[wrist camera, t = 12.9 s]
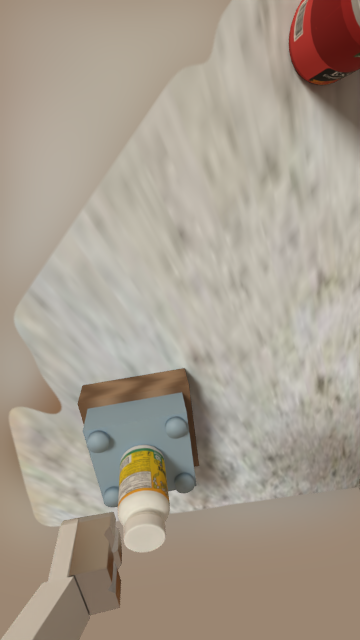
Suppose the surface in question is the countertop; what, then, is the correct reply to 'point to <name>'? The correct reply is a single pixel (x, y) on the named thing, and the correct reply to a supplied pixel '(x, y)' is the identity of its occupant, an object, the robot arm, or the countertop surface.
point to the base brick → (140, 394)
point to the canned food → (325, 40)
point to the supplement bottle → (143, 498)
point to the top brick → (140, 440)
